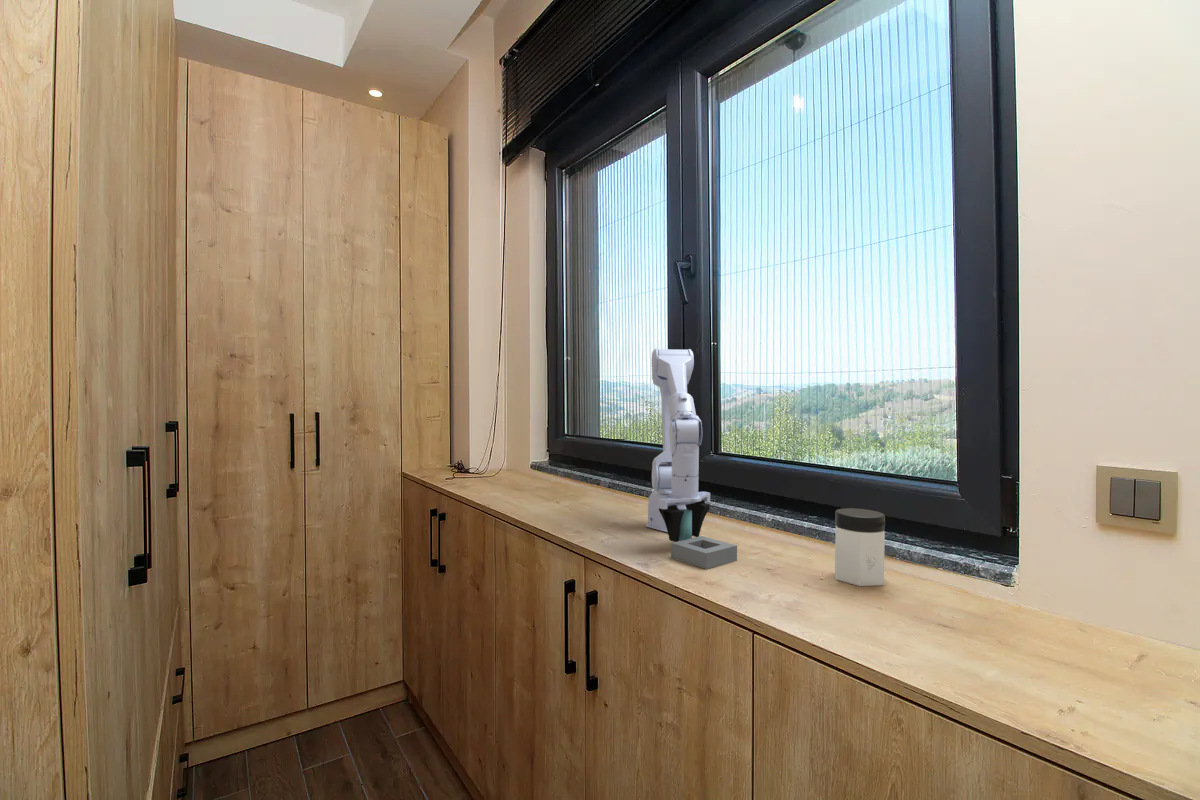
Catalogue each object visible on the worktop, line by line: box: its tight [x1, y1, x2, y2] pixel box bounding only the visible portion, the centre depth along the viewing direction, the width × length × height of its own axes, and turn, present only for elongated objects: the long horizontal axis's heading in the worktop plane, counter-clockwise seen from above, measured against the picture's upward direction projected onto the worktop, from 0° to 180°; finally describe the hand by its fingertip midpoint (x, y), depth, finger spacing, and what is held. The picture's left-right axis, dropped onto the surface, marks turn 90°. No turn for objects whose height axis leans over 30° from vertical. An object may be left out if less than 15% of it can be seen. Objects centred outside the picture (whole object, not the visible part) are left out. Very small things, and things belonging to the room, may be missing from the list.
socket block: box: [670, 535, 738, 570], centre depth 113 cm, size 9×9×3 cm
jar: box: [834, 507, 886, 587], centre depth 102 cm, size 9×8×12 cm
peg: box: [679, 509, 693, 541], centre depth 121 cm, size 3×3×8 cm
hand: (684, 538), depth 121 cm, fingers open, 6 cm apart
